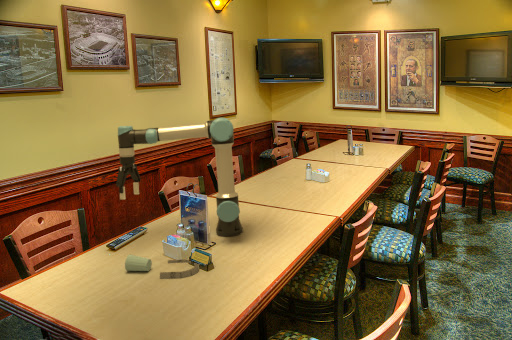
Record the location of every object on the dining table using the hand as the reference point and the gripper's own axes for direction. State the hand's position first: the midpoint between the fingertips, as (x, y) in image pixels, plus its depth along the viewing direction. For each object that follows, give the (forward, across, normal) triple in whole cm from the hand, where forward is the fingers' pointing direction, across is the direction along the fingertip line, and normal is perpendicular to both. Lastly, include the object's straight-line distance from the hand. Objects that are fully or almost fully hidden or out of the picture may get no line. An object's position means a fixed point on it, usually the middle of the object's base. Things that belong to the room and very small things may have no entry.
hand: (129, 196), depth 230 cm
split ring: (+31, +20, +35) cm, 51 cm away
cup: (+32, +23, +20) cm, 44 cm away
